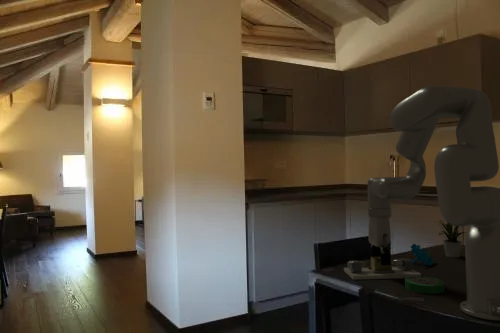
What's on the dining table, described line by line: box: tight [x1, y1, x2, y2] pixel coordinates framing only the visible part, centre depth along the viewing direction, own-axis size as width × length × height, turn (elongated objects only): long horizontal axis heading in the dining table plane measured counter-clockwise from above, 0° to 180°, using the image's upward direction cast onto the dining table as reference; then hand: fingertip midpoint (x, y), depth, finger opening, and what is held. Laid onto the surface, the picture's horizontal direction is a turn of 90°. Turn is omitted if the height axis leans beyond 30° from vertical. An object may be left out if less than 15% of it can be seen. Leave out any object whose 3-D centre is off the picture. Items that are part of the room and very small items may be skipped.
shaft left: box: [346, 259, 370, 273], centre depth 141 cm, size 7×4×4 cm, turn 92°
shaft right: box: [392, 257, 414, 271], centre depth 142 cm, size 7×4×4 cm, turn 107°
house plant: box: [435, 219, 467, 258], centre depth 168 cm, size 14×14×16 cm
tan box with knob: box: [370, 256, 393, 271], centre depth 141 cm, size 6×4×5 cm, turn 92°
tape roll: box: [404, 275, 446, 295], centre depth 123 cm, size 11×11×3 cm
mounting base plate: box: [343, 265, 422, 281], centre depth 141 cm, size 12×23×2 cm, turn 92°
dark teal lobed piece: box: [410, 243, 434, 267], centre depth 155 cm, size 11×6×10 cm
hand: (380, 261), depth 141 cm, fingers open, 9 cm apart
